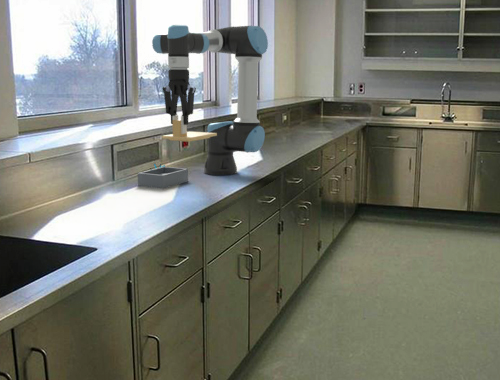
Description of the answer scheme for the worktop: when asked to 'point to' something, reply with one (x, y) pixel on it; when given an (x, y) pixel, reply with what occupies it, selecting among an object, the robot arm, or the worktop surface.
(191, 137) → the lid
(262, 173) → the worktop surface
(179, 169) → the tub
